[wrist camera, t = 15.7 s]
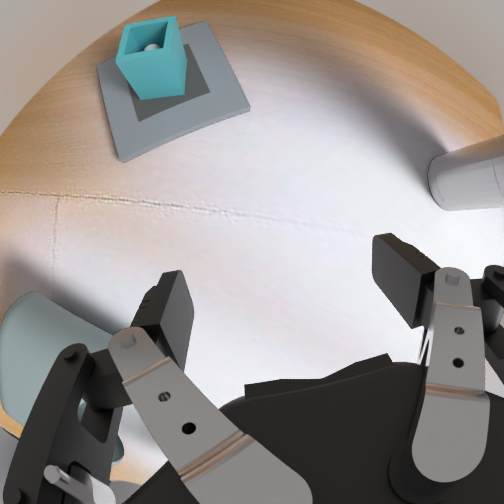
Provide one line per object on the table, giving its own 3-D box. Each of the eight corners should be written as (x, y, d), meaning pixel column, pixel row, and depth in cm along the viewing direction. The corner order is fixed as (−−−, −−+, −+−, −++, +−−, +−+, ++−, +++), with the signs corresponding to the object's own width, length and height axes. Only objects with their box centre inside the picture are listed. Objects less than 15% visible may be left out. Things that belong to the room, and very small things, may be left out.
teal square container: (187, 60, 31) (176, 15, 21) (184, 94, 31) (170, 52, 21) (145, 66, 30) (125, 25, 20) (141, 100, 31) (115, 62, 21)
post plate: (206, 26, 32) (202, -14, 23) (249, 111, 34) (255, 74, 24) (100, 70, 31) (75, 39, 22) (123, 163, 33) (92, 142, 23)
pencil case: (51, 283, 33) (-2, 303, 20) (162, 340, 36) (139, 389, 23) (38, 389, 34) (3, 425, 21) (129, 439, 36) (112, 490, 23)
